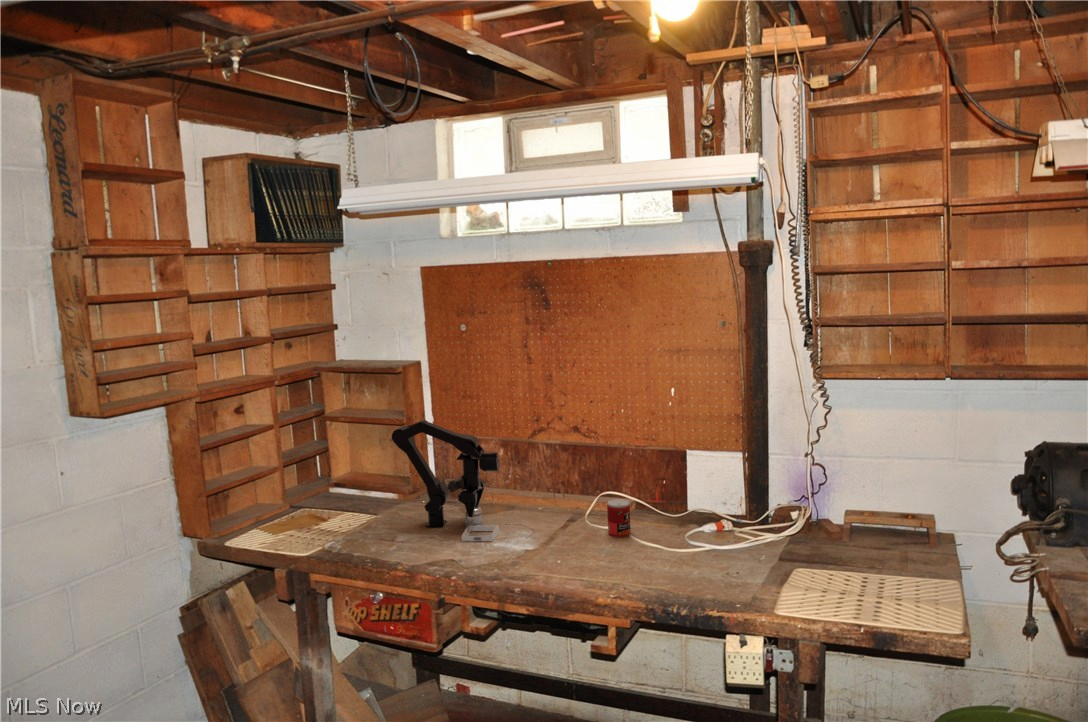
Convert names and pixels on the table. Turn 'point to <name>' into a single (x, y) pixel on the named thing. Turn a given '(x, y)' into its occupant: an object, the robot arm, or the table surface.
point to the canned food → (618, 517)
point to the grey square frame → (480, 537)
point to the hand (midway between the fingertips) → (472, 513)
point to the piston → (474, 517)
